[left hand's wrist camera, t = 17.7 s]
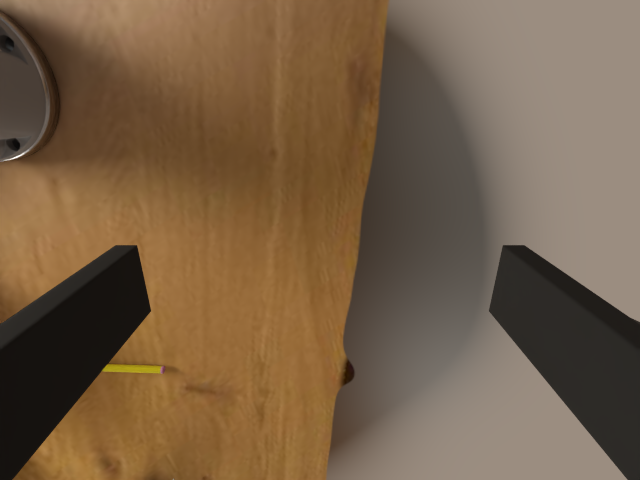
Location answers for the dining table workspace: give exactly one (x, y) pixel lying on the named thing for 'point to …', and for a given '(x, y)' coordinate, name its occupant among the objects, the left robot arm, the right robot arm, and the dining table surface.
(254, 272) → the dining table surface
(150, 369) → the pencil
